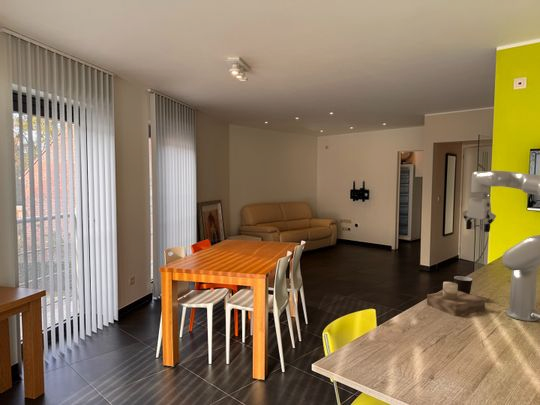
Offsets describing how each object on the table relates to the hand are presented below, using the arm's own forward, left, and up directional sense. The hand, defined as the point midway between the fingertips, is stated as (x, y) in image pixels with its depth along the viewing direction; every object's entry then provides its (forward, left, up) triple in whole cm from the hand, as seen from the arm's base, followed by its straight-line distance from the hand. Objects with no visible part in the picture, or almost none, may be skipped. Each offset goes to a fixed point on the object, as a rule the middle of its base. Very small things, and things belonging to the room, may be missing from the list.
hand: (477, 230), depth 183 cm
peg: (-2, +20, -36) cm, 41 cm away
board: (-2, +16, -36) cm, 40 cm away
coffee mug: (+8, -2, -36) cm, 37 cm away
